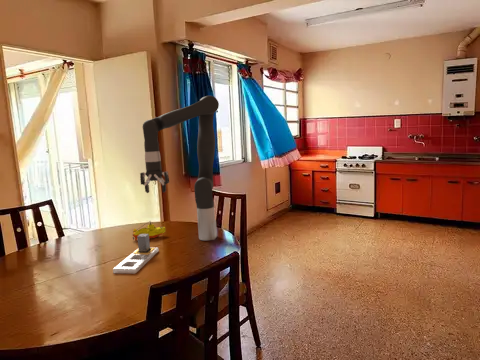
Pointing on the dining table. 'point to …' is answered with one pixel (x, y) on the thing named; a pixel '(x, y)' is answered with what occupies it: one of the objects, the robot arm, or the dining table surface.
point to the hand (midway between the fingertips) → (155, 192)
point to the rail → (135, 261)
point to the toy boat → (149, 231)
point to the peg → (143, 243)
